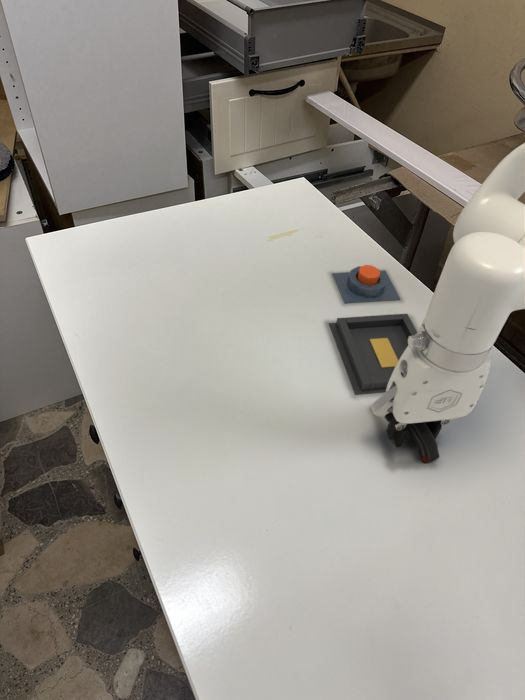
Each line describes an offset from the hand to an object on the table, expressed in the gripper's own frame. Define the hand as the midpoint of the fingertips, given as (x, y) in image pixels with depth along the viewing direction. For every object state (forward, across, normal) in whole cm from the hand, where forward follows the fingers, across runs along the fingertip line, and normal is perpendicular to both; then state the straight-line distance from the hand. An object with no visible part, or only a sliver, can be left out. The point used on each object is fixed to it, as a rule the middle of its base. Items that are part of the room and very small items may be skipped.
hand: (410, 435), depth 70 cm
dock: (+1, +2, +15) cm, 15 cm away
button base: (+1, +4, +31) cm, 31 cm away
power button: (-2, +4, +31) cm, 31 cm away
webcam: (+1, -1, 0) cm, 1 cm away
